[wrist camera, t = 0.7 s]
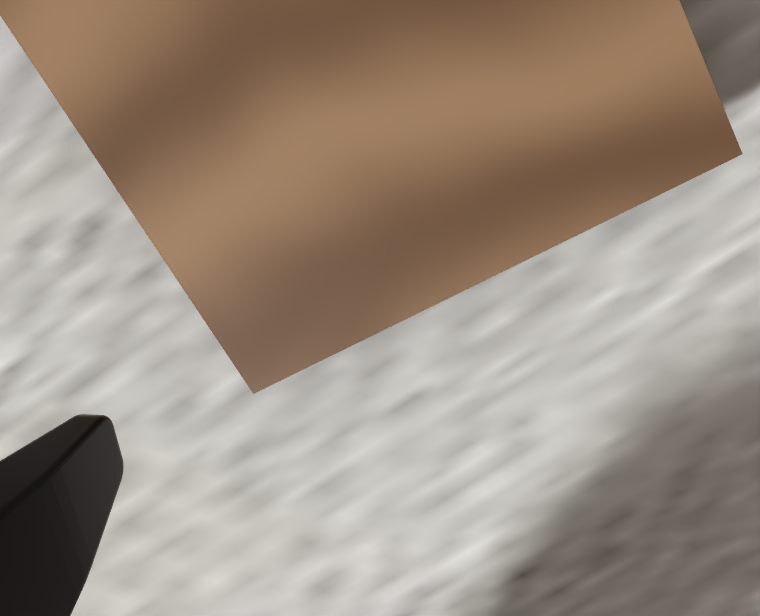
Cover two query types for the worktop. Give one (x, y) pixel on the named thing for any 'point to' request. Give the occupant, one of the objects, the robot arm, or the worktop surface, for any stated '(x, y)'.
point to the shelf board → (370, 144)
